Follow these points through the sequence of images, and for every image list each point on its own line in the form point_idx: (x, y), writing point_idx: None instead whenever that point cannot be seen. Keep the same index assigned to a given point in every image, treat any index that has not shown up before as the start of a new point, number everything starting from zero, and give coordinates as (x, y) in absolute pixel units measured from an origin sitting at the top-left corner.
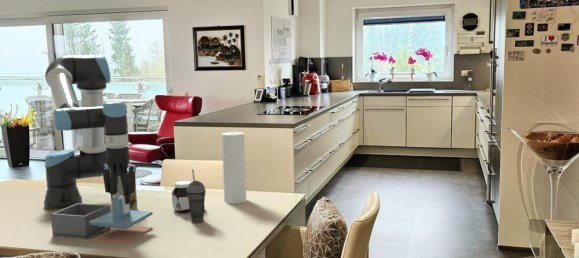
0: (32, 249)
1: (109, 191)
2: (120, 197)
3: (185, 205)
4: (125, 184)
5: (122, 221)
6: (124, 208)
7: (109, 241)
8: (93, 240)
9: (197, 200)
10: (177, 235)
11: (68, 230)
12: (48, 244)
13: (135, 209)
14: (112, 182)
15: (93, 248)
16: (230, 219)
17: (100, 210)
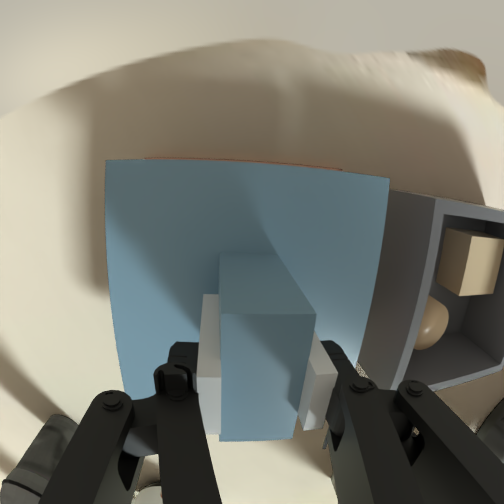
0: (469, 75)
1: (388, 399)
2: (255, 380)
3: (144, 497)
4: (163, 491)
5: (177, 212)
6: (202, 312)
7: (242, 160)
8: (330, 168)
9: (19, 465)
10: (22, 299)
11: (457, 200)
12: (458, 119)
13: (332, 474)
14: (386, 483)
15: (271, 79)
16: (9, 432)
17: (404, 335)
